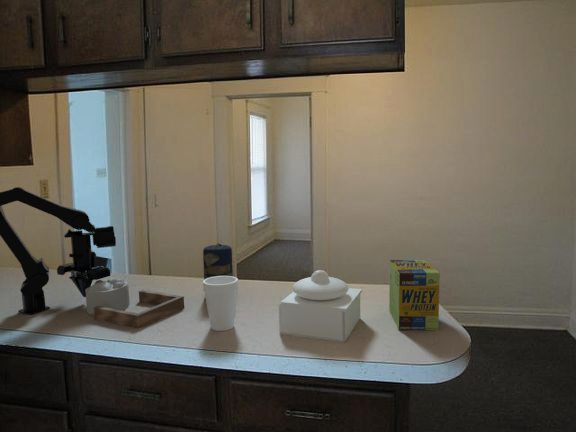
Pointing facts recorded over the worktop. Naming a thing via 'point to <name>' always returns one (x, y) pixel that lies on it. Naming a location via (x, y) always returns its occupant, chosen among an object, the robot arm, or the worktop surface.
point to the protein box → (414, 294)
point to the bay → (137, 320)
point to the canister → (217, 261)
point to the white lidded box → (320, 308)
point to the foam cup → (221, 301)
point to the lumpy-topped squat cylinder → (108, 295)
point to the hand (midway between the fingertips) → (85, 296)
